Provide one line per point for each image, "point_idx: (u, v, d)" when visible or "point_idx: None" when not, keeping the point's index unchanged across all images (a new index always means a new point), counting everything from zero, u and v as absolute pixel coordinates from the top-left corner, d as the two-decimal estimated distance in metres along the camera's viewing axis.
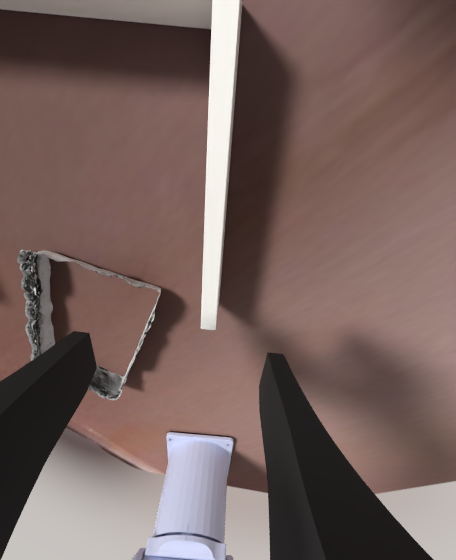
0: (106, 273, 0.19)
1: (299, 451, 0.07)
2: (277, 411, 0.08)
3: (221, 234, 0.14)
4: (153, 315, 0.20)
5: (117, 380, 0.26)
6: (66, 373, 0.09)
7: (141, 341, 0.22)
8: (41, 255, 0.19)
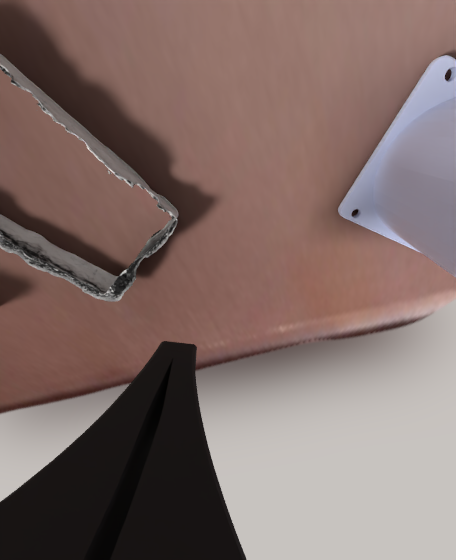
0: None
1: (159, 436, 0.06)
2: None
3: None
4: None
5: (172, 220, 0.16)
6: (168, 384, 0.09)
7: (40, 104, 0.12)
8: None
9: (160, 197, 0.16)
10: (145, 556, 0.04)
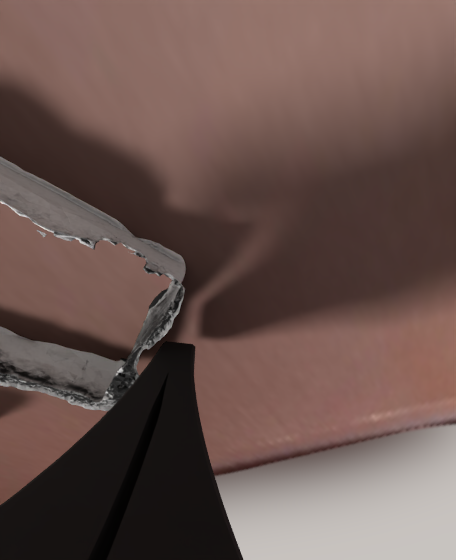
0: None
1: (156, 436, 0.06)
2: None
3: None
4: None
5: None
6: None
7: None
8: None
9: (151, 247, 0.09)
10: (142, 556, 0.04)
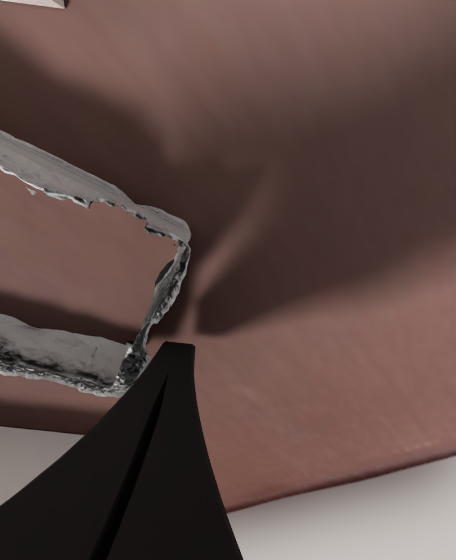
0: None
1: (156, 436, 0.06)
2: None
3: None
4: None
5: None
6: None
7: None
8: None
9: (152, 213, 0.09)
10: (142, 556, 0.04)
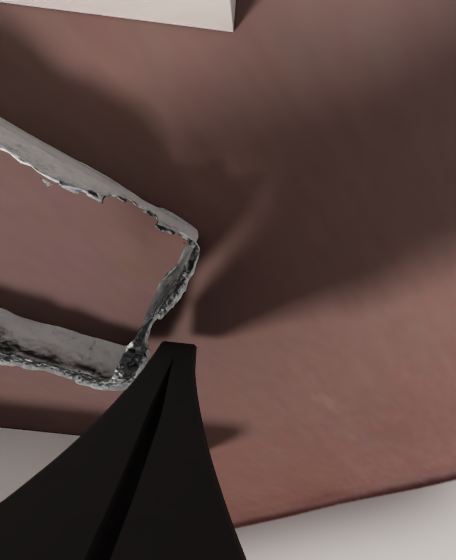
0: None
1: (159, 436, 0.06)
2: None
3: None
4: None
5: (191, 245, 0.09)
6: (168, 384, 0.09)
7: None
8: None
9: (161, 210, 0.09)
10: (145, 556, 0.04)
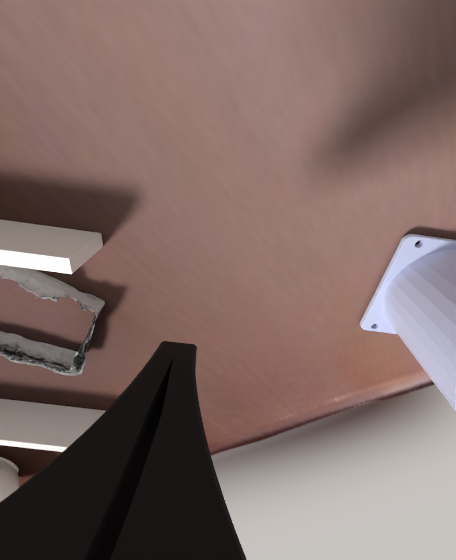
0: None
1: (159, 437, 0.06)
2: None
3: None
4: None
5: (100, 310, 0.21)
6: (167, 384, 0.09)
7: None
8: None
9: (86, 295, 0.21)
10: (145, 556, 0.04)
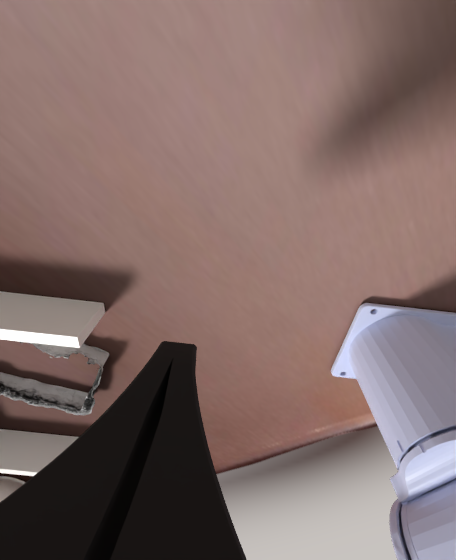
0: None
1: (159, 437, 0.06)
2: None
3: None
4: None
5: None
6: (167, 384, 0.09)
7: None
8: None
9: (93, 349, 0.24)
10: (145, 556, 0.04)
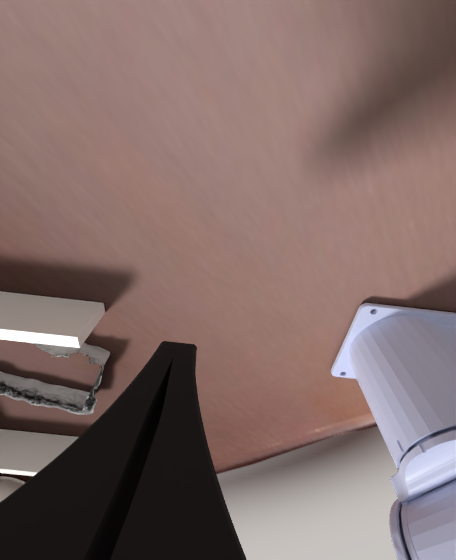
0: None
1: (159, 437, 0.06)
2: None
3: None
4: None
5: None
6: (167, 384, 0.09)
7: None
8: None
9: (94, 348, 0.24)
10: (145, 556, 0.04)
